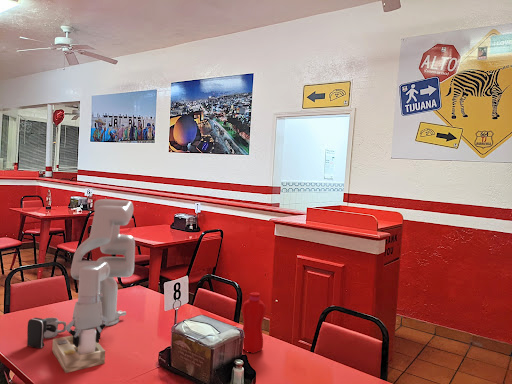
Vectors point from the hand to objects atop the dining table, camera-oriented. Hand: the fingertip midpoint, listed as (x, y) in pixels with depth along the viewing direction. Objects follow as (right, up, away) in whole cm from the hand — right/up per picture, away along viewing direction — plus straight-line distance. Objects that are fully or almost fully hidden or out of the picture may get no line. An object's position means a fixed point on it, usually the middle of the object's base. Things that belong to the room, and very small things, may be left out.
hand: (86, 343), depth 156 cm
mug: (-24, -4, +21) cm, 32 cm away
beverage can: (0, -6, +1) cm, 6 cm away
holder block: (-5, -7, +3) cm, 9 cm away
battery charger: (-25, -5, +10) cm, 27 cm away
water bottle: (+62, -11, +22) cm, 67 cm away
